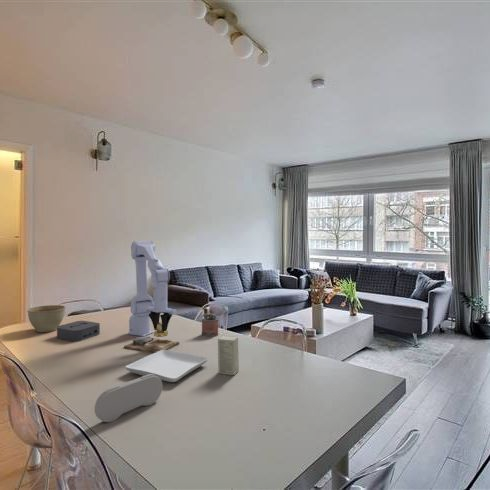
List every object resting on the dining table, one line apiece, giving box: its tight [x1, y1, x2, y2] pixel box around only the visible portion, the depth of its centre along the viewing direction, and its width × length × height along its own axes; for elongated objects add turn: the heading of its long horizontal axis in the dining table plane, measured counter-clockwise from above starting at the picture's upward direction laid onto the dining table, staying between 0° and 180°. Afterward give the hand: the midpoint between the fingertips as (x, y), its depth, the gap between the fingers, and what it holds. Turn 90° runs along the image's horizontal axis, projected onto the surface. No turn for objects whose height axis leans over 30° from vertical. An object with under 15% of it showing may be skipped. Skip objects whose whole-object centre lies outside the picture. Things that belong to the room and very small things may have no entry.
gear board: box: [123, 335, 180, 354], centre depth 151 cm, size 18×14×2 cm
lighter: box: [201, 313, 219, 337], centre depth 168 cm, size 8×3×10 cm, turn 84°
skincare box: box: [217, 335, 240, 376], centre depth 123 cm, size 6×4×12 cm
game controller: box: [94, 374, 163, 423], centre depth 96 cm, size 20×2×8 cm, turn 140°
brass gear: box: [153, 321, 169, 338], centre depth 150 cm, size 6×6×5 cm
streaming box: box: [56, 320, 101, 342], centre depth 165 cm, size 14×14×5 cm
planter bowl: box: [27, 304, 66, 333], centre depth 174 cm, size 16×16×11 cm
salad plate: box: [124, 349, 209, 383], centre depth 125 cm, size 21×21×3 cm
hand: (160, 330), depth 149 cm, fingers closed on brass gear, 4 cm apart
